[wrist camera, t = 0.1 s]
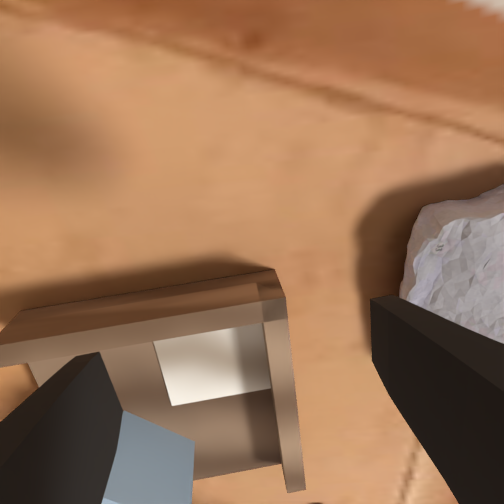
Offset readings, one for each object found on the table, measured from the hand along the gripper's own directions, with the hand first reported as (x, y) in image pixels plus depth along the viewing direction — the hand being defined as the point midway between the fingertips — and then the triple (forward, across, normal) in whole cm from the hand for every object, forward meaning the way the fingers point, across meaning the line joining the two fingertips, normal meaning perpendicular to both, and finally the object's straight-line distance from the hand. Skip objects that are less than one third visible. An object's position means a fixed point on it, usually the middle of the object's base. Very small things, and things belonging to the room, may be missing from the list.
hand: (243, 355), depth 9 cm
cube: (+9, +8, +13) cm, 18 cm away
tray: (+10, +5, +9) cm, 15 cm away
